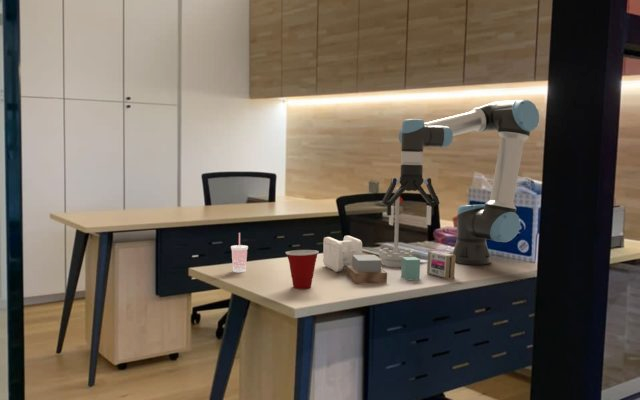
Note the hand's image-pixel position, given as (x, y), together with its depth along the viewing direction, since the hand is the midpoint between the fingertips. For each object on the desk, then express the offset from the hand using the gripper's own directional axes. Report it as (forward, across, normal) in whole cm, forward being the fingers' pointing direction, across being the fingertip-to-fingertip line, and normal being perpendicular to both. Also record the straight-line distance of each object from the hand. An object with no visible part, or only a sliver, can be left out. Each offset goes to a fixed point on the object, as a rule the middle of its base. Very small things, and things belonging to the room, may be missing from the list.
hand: (409, 224), depth 214 cm
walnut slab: (+19, +15, +1) cm, 25 cm away
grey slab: (+15, +15, 0) cm, 22 cm away
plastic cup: (+19, +39, +10) cm, 45 cm away
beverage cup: (+19, +59, -16) cm, 64 cm away
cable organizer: (+19, +21, -16) cm, 32 cm away
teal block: (+19, -1, +1) cm, 19 cm away
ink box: (+19, -13, -2) cm, 23 cm away
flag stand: (+19, -2, -24) cm, 30 cm away
